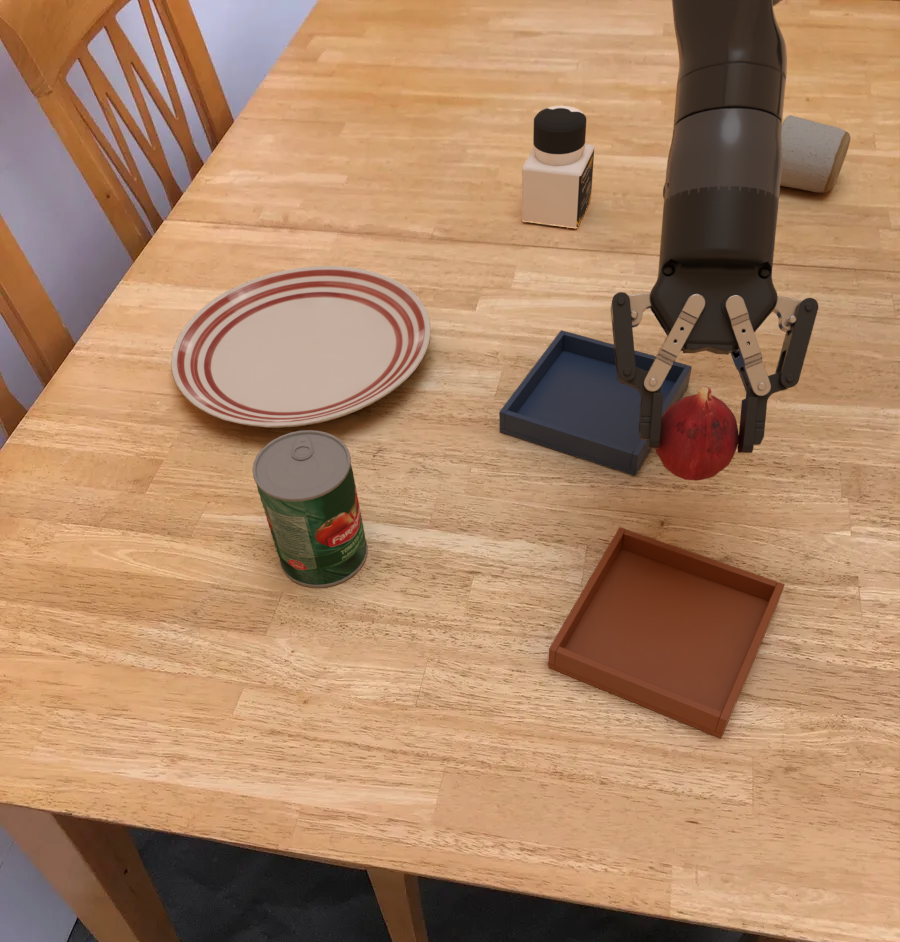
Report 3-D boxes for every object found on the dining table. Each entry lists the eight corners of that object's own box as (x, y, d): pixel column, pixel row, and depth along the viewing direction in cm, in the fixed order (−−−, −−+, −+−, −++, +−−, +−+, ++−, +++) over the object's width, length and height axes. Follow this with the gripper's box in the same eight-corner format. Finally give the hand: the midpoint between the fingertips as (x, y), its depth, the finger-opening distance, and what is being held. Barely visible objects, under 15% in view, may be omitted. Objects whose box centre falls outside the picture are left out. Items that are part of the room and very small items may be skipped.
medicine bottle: (577, 231, 112) (583, 130, 103) (521, 223, 114) (521, 124, 104) (591, 200, 116) (598, 101, 107) (536, 194, 118) (538, 96, 108)
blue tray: (688, 386, 93) (692, 365, 91) (635, 476, 86) (638, 455, 84) (560, 350, 98) (560, 329, 96) (499, 432, 91) (499, 411, 89)
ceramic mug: (827, 206, 112) (845, 142, 106) (760, 193, 115) (774, 130, 109) (845, 166, 118) (864, 103, 112) (781, 155, 121) (795, 93, 115)
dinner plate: (127, 416, 95) (116, 390, 93) (256, 271, 111) (250, 245, 108) (368, 475, 88) (363, 449, 85) (470, 310, 103) (468, 284, 101)
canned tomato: (368, 583, 80) (351, 493, 71) (278, 592, 80) (249, 503, 71) (366, 516, 85) (350, 425, 76) (281, 525, 85) (254, 434, 76)
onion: (742, 492, 68) (765, 408, 61) (669, 511, 67) (684, 428, 61) (707, 440, 71) (725, 356, 65) (637, 458, 71) (649, 374, 64)
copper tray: (777, 603, 76) (785, 583, 74) (721, 738, 69) (727, 721, 67) (616, 546, 81) (619, 526, 79) (547, 667, 73) (548, 648, 71)
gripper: (615, 179, 60) (596, 443, 62) (847, 182, 58) (819, 454, 60) (610, 213, 67) (594, 447, 69) (816, 216, 65) (792, 457, 68)
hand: (699, 449), depth 65 cm, fingers closed on onion, 5 cm apart
